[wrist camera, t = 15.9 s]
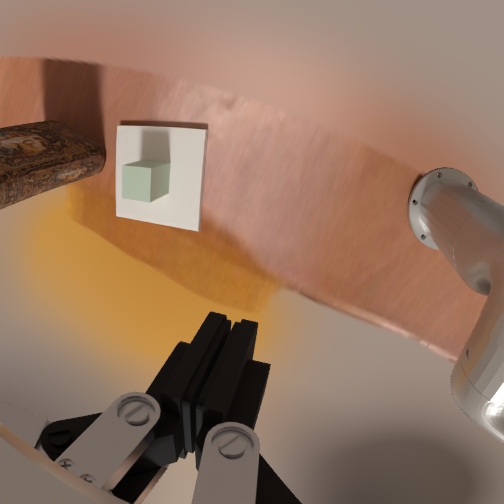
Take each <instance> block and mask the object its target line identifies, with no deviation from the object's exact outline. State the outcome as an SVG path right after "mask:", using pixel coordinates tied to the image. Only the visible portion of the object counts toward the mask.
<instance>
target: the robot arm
mask: <svg viewBox="0 0 504 504" xmlns="http://www.w3.org/2000/svg"><path fill="white" fill-rule="evenodd" d="M437 173H439V175H438V176H437ZM468 183H469V185H468ZM413 200H415V202H413ZM408 219H409V223H410V226H411V228H412V230H413V232H414V234H415V235H416V237H417V238H418V239H419V240H420V241H421V242H422V243H423V244H425V245H426V246H428V247H430V248H432V249H435V250H440V251H441V252H442V253H443V254H444V256H445V257H446V258H447V260H448V261H449V262H450V264H451V265H452V266H453V268H454V269H455V270H456V272H457V273H458V274H459V275H460V277H461V278H462V280H463V281H464V282H465V283H466V284H467V286H468V287H470V288H471V289H472V290H474V291H475V292H477V293H480V294H482V295H486V296H488V298H487V300H486V303H485V305H484V307H483V309H482V311H481V315H480V317H479V319H478V321H477V323H476V325H475V327H474V329H473V331H472V333H471V335H470V337H469V339H468V340H467V342H466V344H465V346H464V348H463V350H462V352H461V354H460V355H459V357H458V359H457V361H456V363H455V365H454V368H453V370H452V374H451V378H450V389H451V393H452V396H453V399H454V400H455V402H456V404H457V405H458V407H459V408H460V409H461V411H463V413H464V414H465V415H466V416H467V417H468V418H469V419H470V420H472V421H473V422H474V423H475V424H477V425H478V426H479V427H481V428H482V429H483V430H485V431H486V432H488V433H489V434H490V435H492V436H493V437H494V438H496V439H497V440H499V441H500V442H502V443H503V444H504V206H503V205H501V204H499V203H497V202H495V201H494V200H492V199H490V198H488V197H487V196H485V195H483V194H481V193H479V191H478V188H477V187H476V185H475V183H474V182H473V181H472V180H471V179H470V177H468V176H467V175H466V174H465V173H463V172H461V171H459V170H456V169H453V168H445V167H444V168H438V169H435V170H432V171H430V172H428V173H427V174H425V175H424V176H423V177H422V178H421V179H419V181H418V182H417V183H416V185H415V186H414V188H413V190H412V192H411V194H410V198H409V201H408ZM422 234H423V236H421V235H422ZM257 328H258V322H253V321H249V320H245V319H242V321H241V323H239V322H235V323H234V325H233V328H232V329H231V320H227V317H226V315H223V314H220V313H215V312H210V313H209V314H208V316H207V317H206V319H205V321H204V322H203V324H202V325H201V327H200V329H199V330H198V332H197V334H196V335H195V337H194V339H193V340H192V342H191V343H190V344H189V343H186V342H182V341H181V342H179V343H178V344H177V346H176V347H175V349H174V350H173V352H172V353H171V355H170V356H169V358H168V359H167V361H166V362H165V364H164V365H163V367H162V368H161V370H160V372H159V373H158V375H157V376H156V377H155V379H154V381H153V382H152V384H151V385H150V387H149V388H148V390H147V391H146V393H140V392H131V393H127V394H124V395H122V396H120V397H119V398H117V399H116V400H115V401H114V402H113V403H112V404H111V405H110V406H109V408H107V409H106V410H105V411H104V412H103V413H97V414H92V415H88V416H83V417H77V418H72V419H66V420H60V421H56V422H50V421H49V420H48V419H47V418H45V417H42V416H39V415H36V414H34V413H31V412H29V411H26V410H23V409H21V408H18V407H16V406H14V405H11V404H9V403H5V402H1V403H0V504H141V503H142V502H143V501H144V499H145V498H146V497H147V495H148V494H149V493H150V491H151V490H152V489H153V487H154V486H155V484H156V483H157V482H158V480H159V479H160V478H161V477H162V475H163V474H164V472H165V471H166V470H167V468H168V466H169V464H171V463H174V462H177V460H178V458H179V457H180V458H183V459H185V458H186V455H187V453H188V452H190V453H193V452H194V451H195V456H196V469H197V470H198V476H197V481H196V485H195V490H194V495H193V500H192V504H302V503H301V502H300V501H299V500H298V499H297V498H296V497H295V495H294V494H293V493H292V492H291V491H290V490H289V489H288V487H287V486H286V485H285V484H284V483H283V482H282V480H281V479H280V478H279V477H278V476H277V474H276V473H275V472H274V471H273V469H272V468H271V467H270V466H269V464H268V463H267V462H266V461H265V459H264V458H263V457H262V456H261V454H260V453H259V450H260V443H259V438H258V437H257V435H256V433H255V432H254V431H253V430H254V427H255V424H256V420H257V417H258V413H259V410H260V406H261V403H262V399H263V395H264V392H265V388H266V384H267V379H268V375H269V370H270V365H271V364H268V363H263V362H259V361H254V360H253V353H254V347H255V341H256V335H257Z"/></svg>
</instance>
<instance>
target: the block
mask: <svg viewBox="0 0 504 504" xmlns="http://www.w3.org/2000/svg"><path fill="white" fill-rule="evenodd" d="M170 164H171V162H162V161H153V160H140V161H136V162H132V163H129V164H125V165H122V198H124V199H131V200H137V201H143V202H149V203H150V202H152V201H154V200H156V199H158V198H160V197H162V196H164V195H166V194H168V193H169V180H170Z"/></svg>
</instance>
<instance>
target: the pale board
mask: <svg viewBox="0 0 504 504" xmlns="http://www.w3.org/2000/svg"><path fill="white" fill-rule="evenodd" d="M207 136H208V130H207V129H194V128H179V127H160V126H123V125H121V126H117V145H116V216H118V217H124V218H129V219H135V220H140V221H145V222H151V223H156V224H162V225H167V226H172V227H178V228H183V229H188V230H194V231H199V230H200V228H201V212H202V197H203V183H204V170H205V158H206V147H207ZM140 160H153V161H162V162H171V164H170V180H169V193H168V194H166V195H164V196H162V197H160V198H158V199H156V200H154V201H152V202H150V203H149V202H143V201H137V200H131V199H124V198H122V165H125V164H129V163H132V162H136V161H140Z"/></svg>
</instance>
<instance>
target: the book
mask: <svg viewBox="0 0 504 504" xmlns="http://www.w3.org/2000/svg"><path fill="white" fill-rule="evenodd" d="M105 161H106V150H105V148H104V147H103V146H101V145H99V144H97V143H96V142H94V141H92V140H90V139H88V138H86V137H84V136H83V135H81V134H79V133H77V132H75V131H73V130H71V129H69V128H68V127H66V126H64V125H62V124H60V123H58V122H56V121H43V122H35V123H29V124H22V125H16V126H10V127H5V128H0V209H3V208H5V207H7V206H10V205H12V204H15V203H17V202H19V201H22V200H25V199H27V198H30V197H32V196H35V195H38V194H40V193H43V192H46V191H48V190H51V189H54V188H57V187H60V186H62V185H65V184H68V183H71V182H74V181H77V180H80V179H83V178H86V177H89V176H92V175H96V174H98V173H100V172H101V171H102V169H103V167H104V165H105Z"/></svg>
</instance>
